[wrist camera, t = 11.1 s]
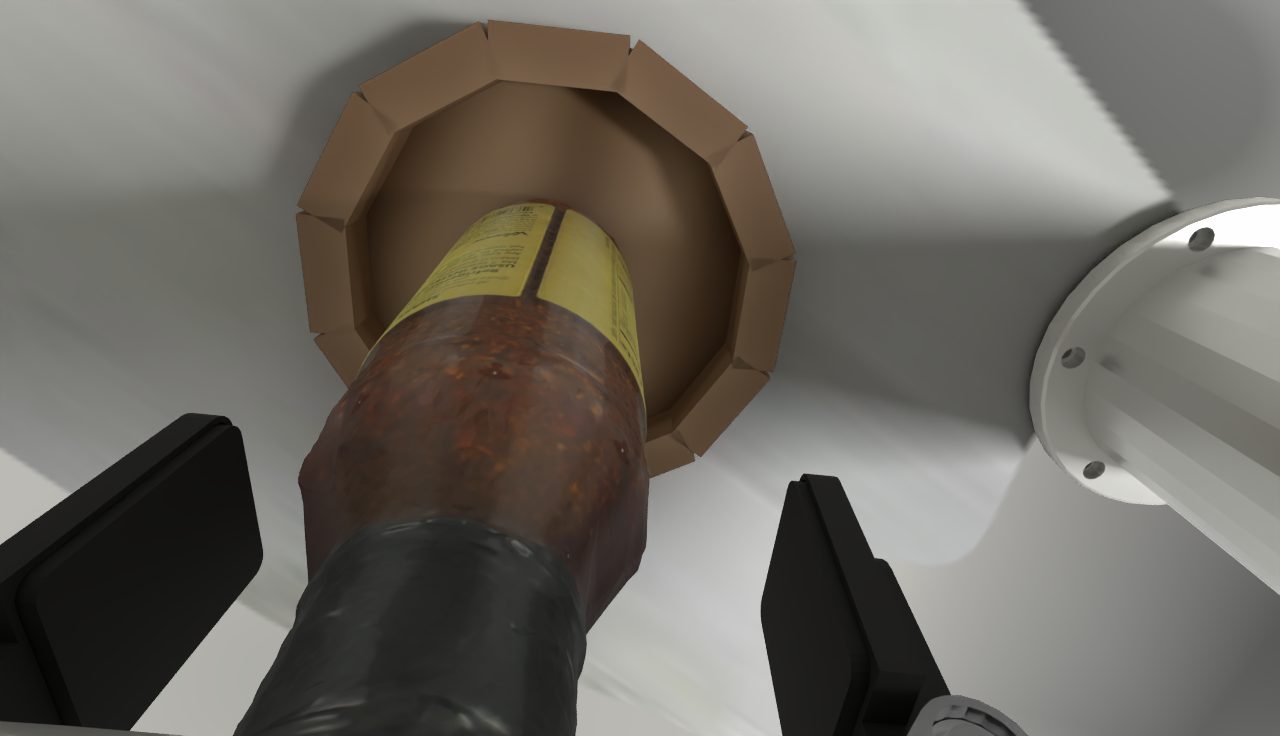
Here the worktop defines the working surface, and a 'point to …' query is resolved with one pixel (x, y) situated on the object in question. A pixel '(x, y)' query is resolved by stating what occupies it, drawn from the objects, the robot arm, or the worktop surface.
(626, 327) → the sauce bottle
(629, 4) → the worktop surface
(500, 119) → the walnut bowl
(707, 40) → the worktop surface
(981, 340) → the worktop surface
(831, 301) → the worktop surface
